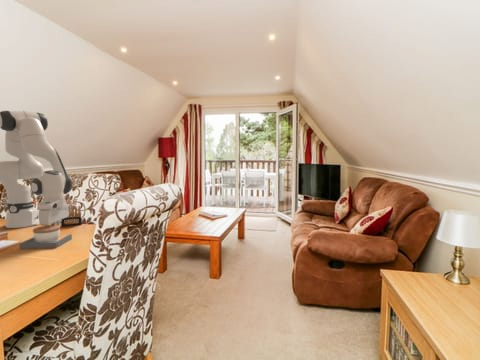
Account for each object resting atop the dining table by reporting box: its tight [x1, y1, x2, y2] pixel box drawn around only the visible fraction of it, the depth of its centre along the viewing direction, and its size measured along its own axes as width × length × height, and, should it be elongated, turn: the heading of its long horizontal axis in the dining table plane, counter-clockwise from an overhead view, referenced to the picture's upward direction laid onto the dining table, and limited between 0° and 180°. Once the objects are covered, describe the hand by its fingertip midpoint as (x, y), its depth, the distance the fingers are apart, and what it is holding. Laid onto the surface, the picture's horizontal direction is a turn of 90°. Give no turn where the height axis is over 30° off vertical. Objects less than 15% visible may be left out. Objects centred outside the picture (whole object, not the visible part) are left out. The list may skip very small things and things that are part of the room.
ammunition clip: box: [60, 205, 83, 228], centre depth 168 cm, size 11×2×12 cm, turn 116°
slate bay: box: [19, 233, 73, 250], centre depth 134 cm, size 14×16×2 cm
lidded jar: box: [32, 224, 61, 242], centre depth 133 cm, size 11×11×9 cm
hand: (56, 229), depth 141 cm, fingers closed
